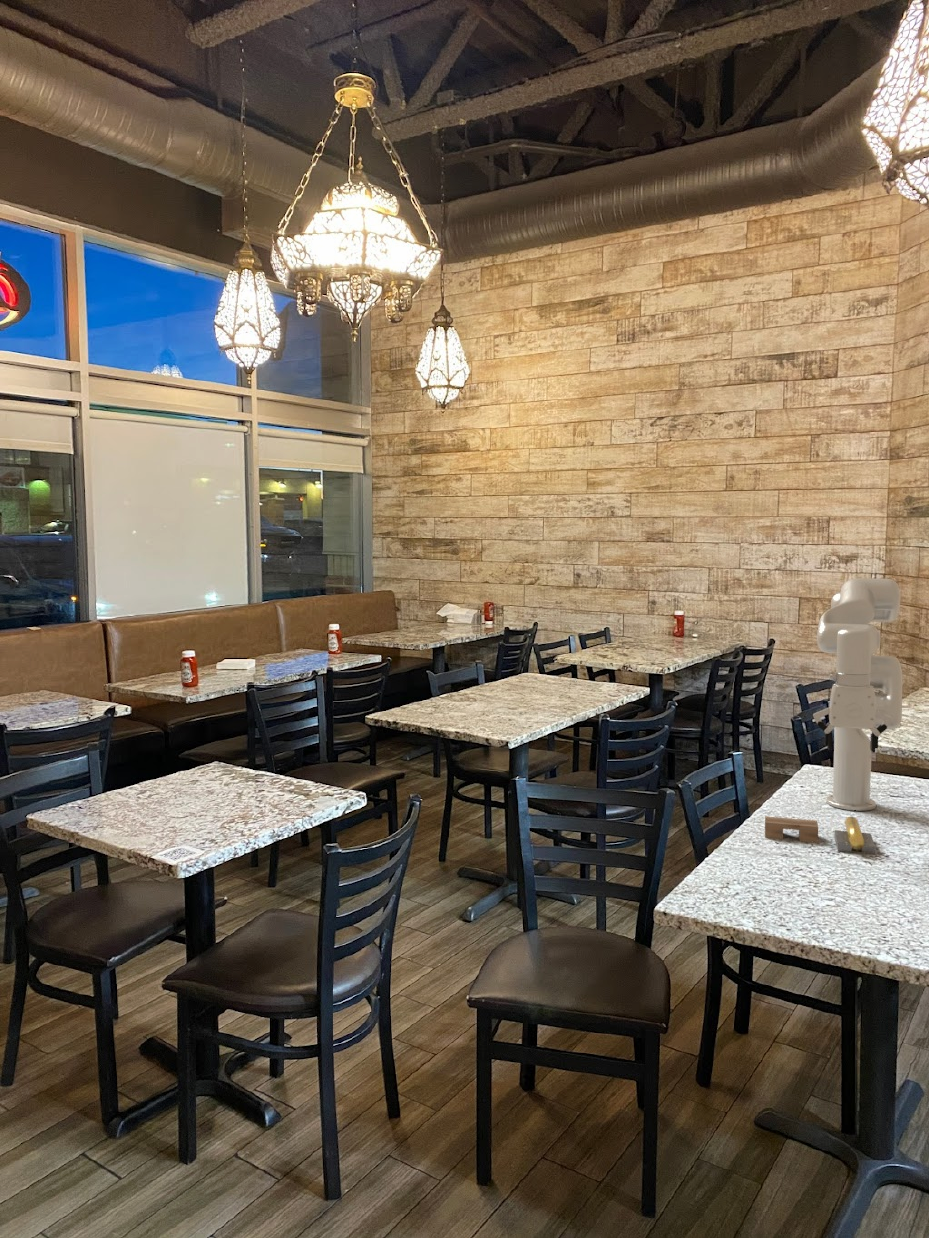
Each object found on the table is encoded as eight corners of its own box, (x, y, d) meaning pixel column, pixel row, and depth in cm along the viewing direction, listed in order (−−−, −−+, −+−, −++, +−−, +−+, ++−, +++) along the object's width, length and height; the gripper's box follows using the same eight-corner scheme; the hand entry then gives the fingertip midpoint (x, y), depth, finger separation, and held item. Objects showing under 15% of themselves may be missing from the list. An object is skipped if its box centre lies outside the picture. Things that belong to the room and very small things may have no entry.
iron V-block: (834, 842, 213) (834, 830, 213) (870, 845, 211) (870, 833, 211) (837, 856, 204) (838, 843, 204) (875, 859, 201) (875, 847, 201)
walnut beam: (764, 835, 219) (765, 816, 218) (816, 840, 215) (817, 820, 214) (764, 842, 214) (765, 822, 213) (817, 847, 210) (818, 826, 210)
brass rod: (844, 828, 215) (844, 816, 215) (858, 828, 214) (858, 816, 214) (850, 848, 202) (850, 836, 202) (864, 849, 201) (864, 837, 201)
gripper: (815, 681, 208) (813, 751, 210) (895, 684, 203) (892, 756, 205) (812, 676, 216) (811, 744, 217) (890, 678, 210) (887, 748, 212)
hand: (850, 749), depth 211 cm, fingers open, 9 cm apart
